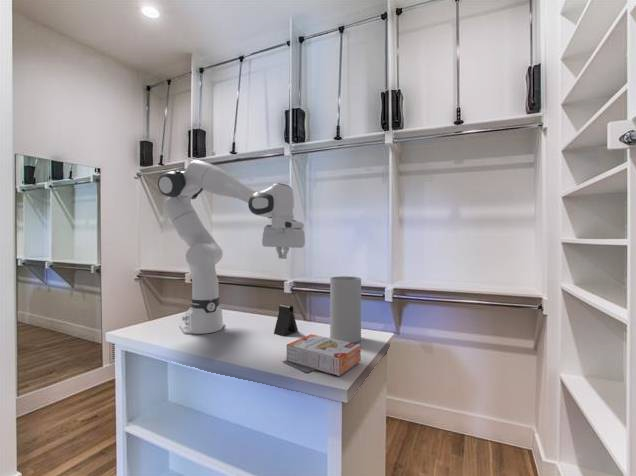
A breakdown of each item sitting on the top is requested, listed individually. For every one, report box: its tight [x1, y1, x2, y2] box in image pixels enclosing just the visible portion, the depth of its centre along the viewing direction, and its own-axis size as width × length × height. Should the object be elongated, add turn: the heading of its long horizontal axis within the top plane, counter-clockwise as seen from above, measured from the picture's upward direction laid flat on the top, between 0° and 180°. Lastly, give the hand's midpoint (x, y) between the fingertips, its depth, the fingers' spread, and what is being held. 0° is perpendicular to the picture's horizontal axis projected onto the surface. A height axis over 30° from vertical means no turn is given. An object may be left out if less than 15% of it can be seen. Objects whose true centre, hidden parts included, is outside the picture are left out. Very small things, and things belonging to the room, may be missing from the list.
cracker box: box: [286, 333, 362, 377], centre depth 107 cm, size 14×6×21 cm
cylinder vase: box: [329, 275, 362, 344], centre depth 132 cm, size 12×12×25 cm
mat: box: [282, 359, 317, 374], centre depth 109 cm, size 12×16×1 cm
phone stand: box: [273, 303, 299, 337], centre depth 141 cm, size 9×6×12 cm, turn 142°
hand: (282, 258), depth 130 cm, fingers closed
